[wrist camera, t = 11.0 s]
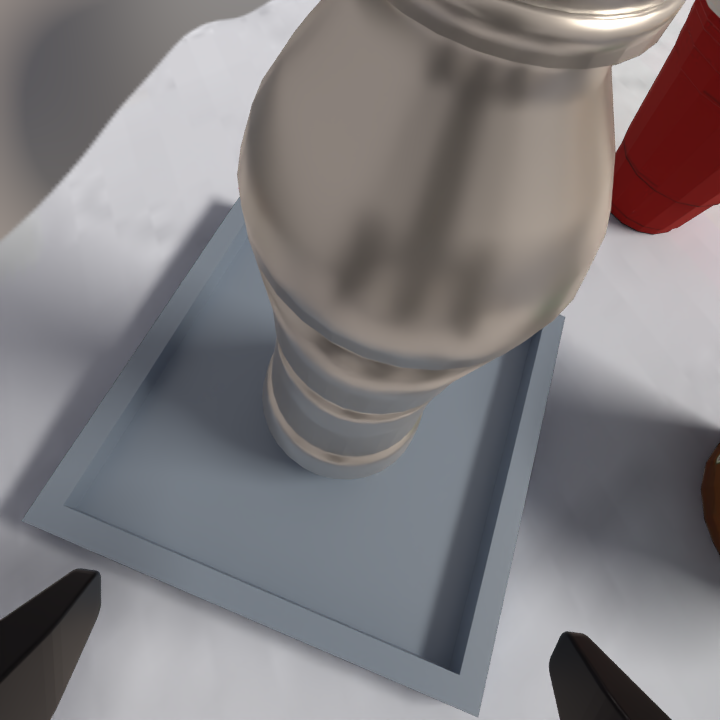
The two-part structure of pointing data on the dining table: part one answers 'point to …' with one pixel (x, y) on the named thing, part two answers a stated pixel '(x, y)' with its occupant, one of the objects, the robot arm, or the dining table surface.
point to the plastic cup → (675, 134)
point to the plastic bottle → (424, 201)
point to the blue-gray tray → (306, 491)
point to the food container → (712, 496)
